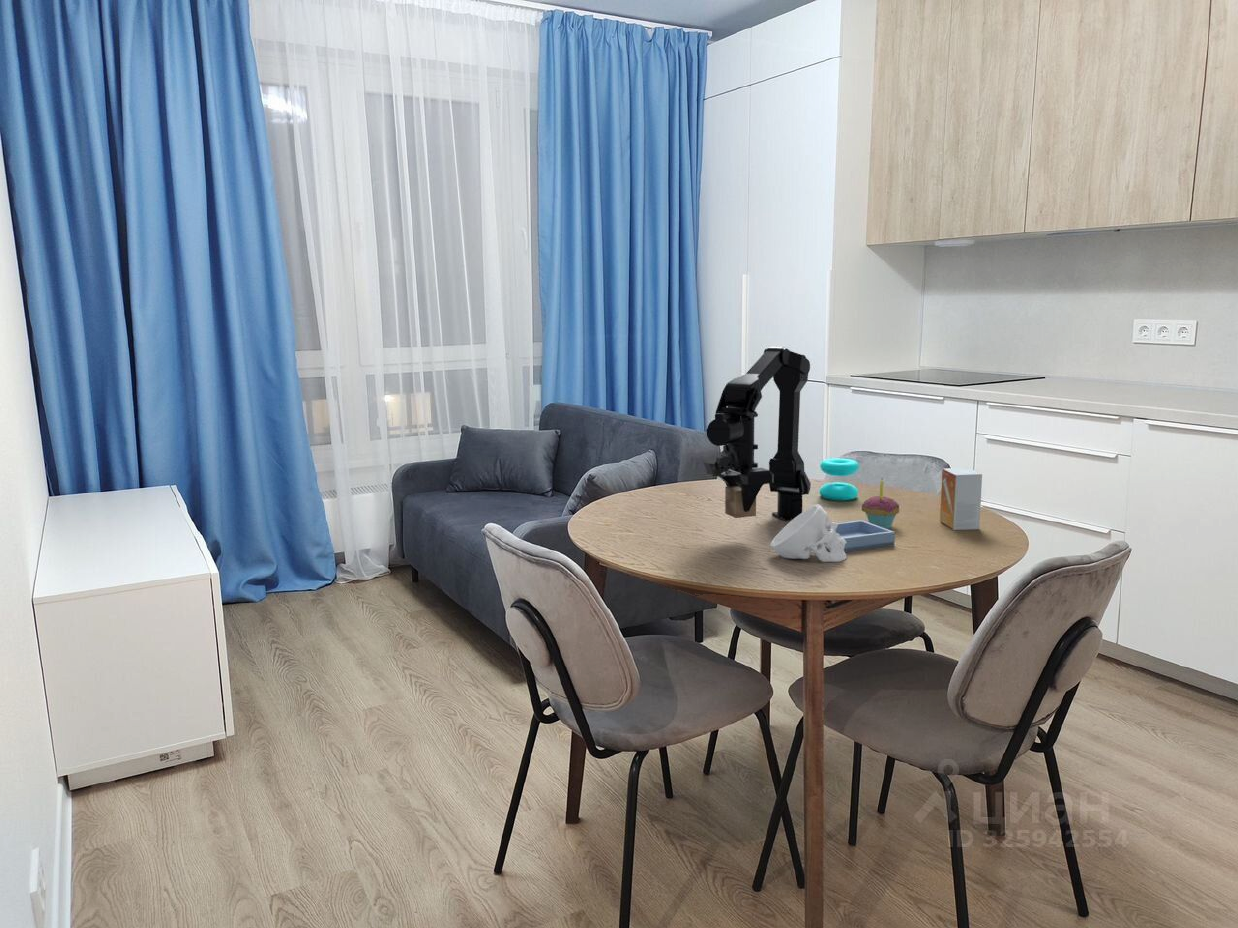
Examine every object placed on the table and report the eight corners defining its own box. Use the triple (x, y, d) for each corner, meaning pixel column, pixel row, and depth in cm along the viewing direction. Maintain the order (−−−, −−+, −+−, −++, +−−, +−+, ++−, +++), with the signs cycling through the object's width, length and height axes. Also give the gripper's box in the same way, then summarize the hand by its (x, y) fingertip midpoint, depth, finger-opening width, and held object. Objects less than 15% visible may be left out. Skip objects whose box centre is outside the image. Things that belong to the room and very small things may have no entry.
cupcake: (900, 531, 207) (902, 480, 205) (862, 530, 209) (863, 479, 207) (896, 522, 216) (898, 473, 213) (860, 521, 217) (861, 472, 215)
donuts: (850, 465, 234) (814, 462, 240) (849, 503, 236) (813, 498, 242) (864, 459, 242) (829, 456, 248) (863, 496, 244) (828, 492, 250)
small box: (939, 521, 216) (941, 467, 213) (965, 521, 216) (968, 467, 213) (952, 530, 208) (955, 474, 205) (980, 529, 208) (983, 473, 206)
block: (725, 513, 203) (725, 487, 202) (745, 511, 205) (745, 485, 204) (735, 518, 199) (735, 491, 198) (755, 515, 200) (756, 489, 199)
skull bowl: (857, 559, 182) (825, 508, 181) (797, 592, 185) (765, 543, 184) (853, 544, 192) (822, 496, 191) (796, 576, 195) (765, 529, 194)
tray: (810, 539, 202) (810, 526, 202) (862, 532, 207) (862, 520, 206) (840, 552, 192) (841, 538, 191) (894, 545, 196) (894, 531, 196)
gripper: (689, 436, 205) (689, 503, 208) (728, 448, 187) (727, 522, 190) (733, 432, 209) (733, 499, 211) (775, 444, 191) (774, 516, 194)
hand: (740, 508), depth 202 cm, fingers closed on block, 5 cm apart
